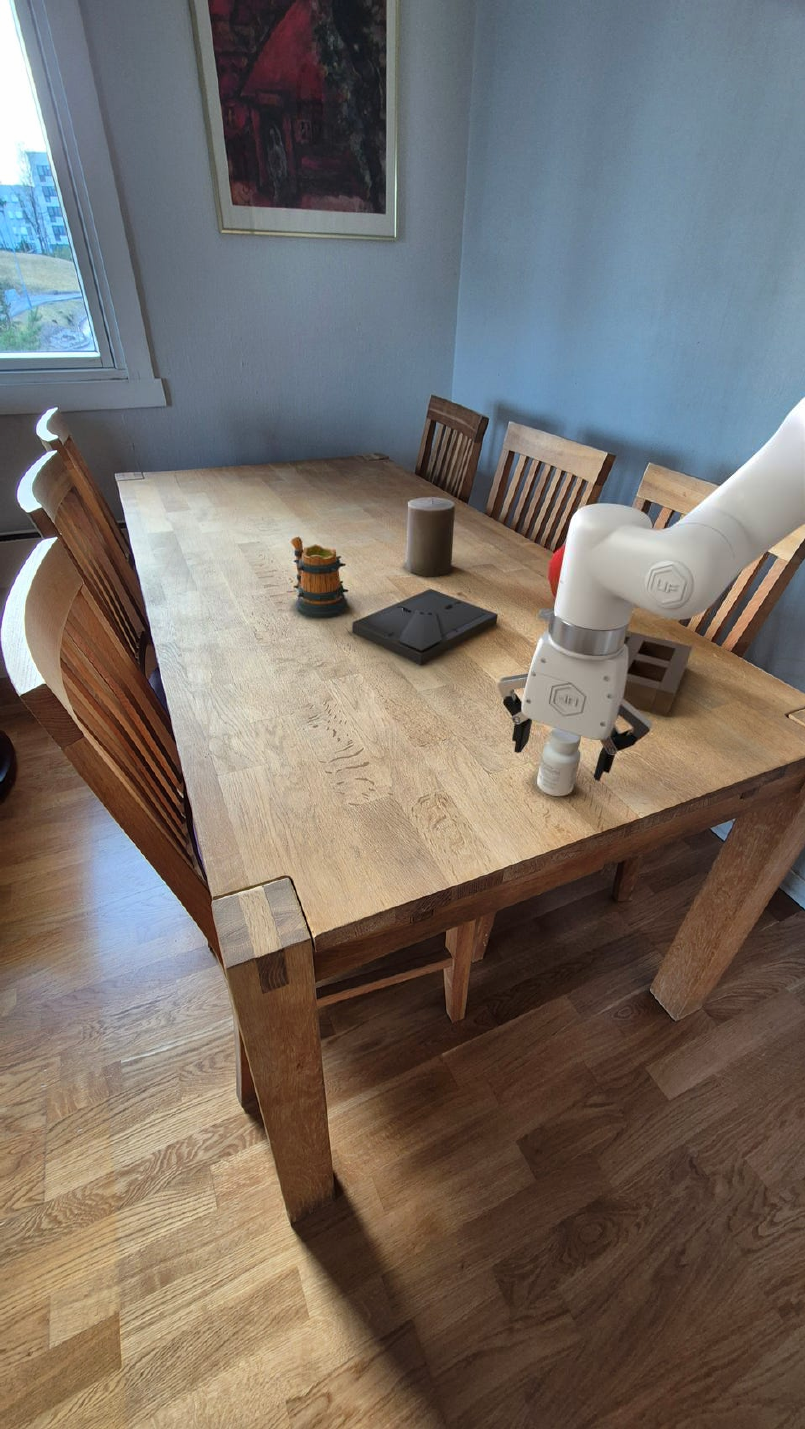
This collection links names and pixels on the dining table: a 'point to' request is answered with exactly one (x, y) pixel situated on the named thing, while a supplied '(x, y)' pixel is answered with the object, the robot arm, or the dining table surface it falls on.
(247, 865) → the dining table surface
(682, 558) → the robot arm
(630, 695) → the grid rack
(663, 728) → the dining table surface
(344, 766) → the dining table surface
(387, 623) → the picture frame
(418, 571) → the pillar candle
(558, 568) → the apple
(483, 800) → the dining table surface
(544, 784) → the pill bottle
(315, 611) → the mug
